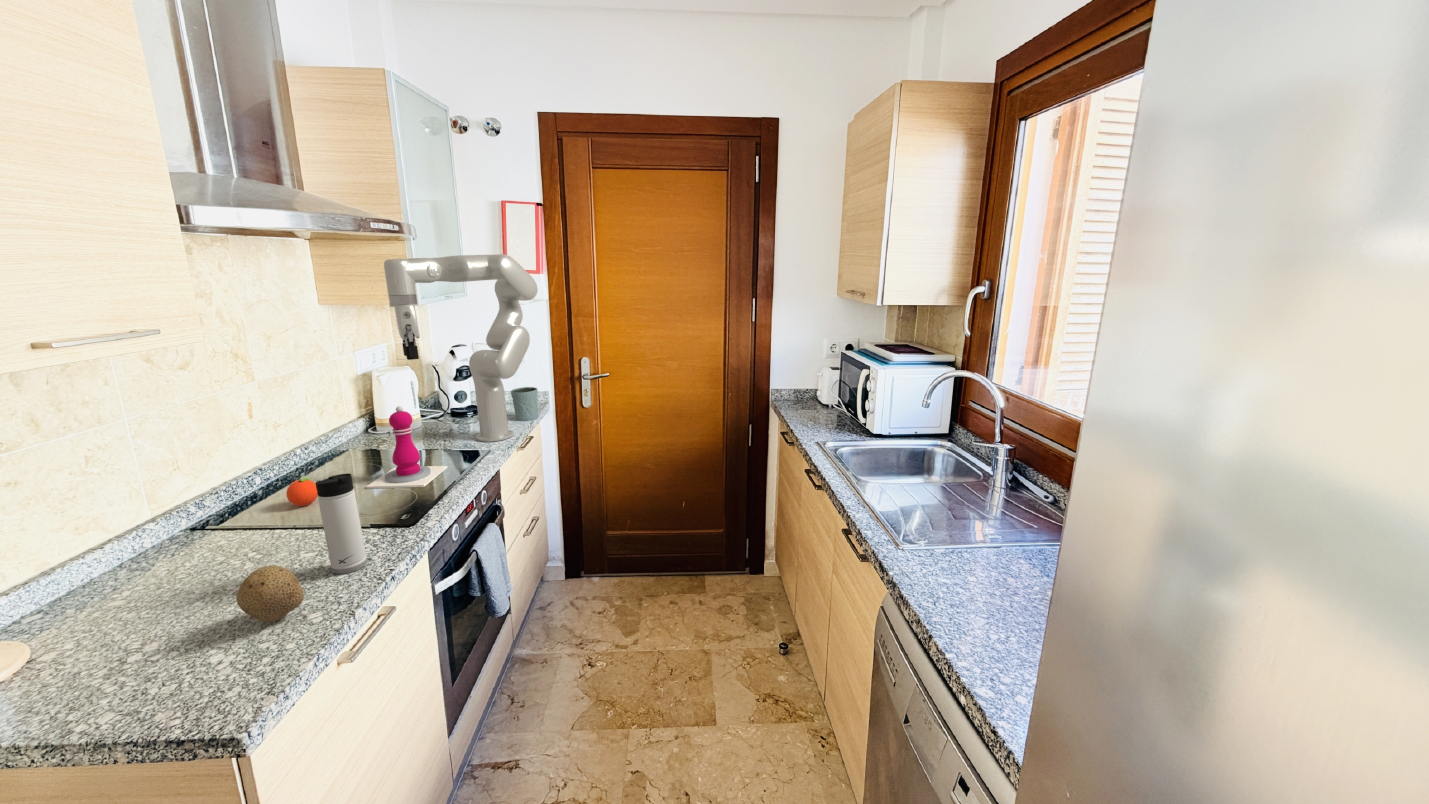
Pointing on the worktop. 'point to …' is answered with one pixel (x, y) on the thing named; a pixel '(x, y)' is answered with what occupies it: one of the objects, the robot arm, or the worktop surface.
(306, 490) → the clementine
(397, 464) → the pepper mill
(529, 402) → the green plant pot
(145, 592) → the worktop surface
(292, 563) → the worktop surface
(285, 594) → the brown potato
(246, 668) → the worktop surface
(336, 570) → the travel mug
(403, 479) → the cream square board
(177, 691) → the worktop surface
